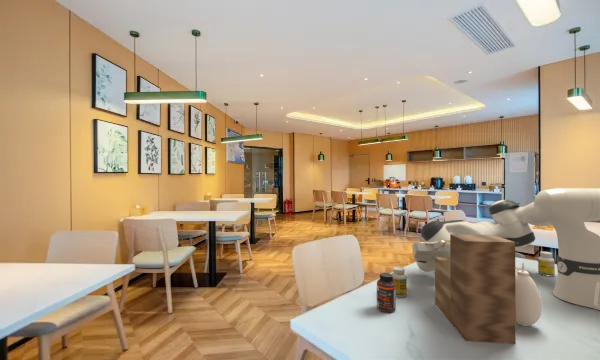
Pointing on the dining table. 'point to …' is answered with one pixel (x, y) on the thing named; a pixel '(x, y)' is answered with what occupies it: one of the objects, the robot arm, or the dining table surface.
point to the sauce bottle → (527, 299)
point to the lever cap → (447, 245)
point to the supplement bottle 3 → (546, 264)
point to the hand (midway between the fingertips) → (449, 243)
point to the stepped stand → (478, 287)
